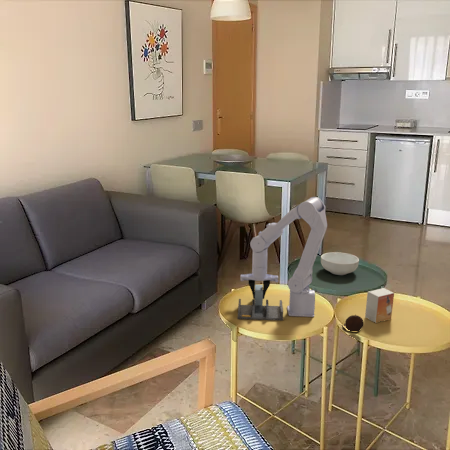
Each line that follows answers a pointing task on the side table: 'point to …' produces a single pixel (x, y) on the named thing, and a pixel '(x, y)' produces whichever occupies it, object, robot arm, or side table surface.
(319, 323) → the side table surface
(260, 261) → the robot arm
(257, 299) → the light grey rectangular block
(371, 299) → the small box
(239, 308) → the rack
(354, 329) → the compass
